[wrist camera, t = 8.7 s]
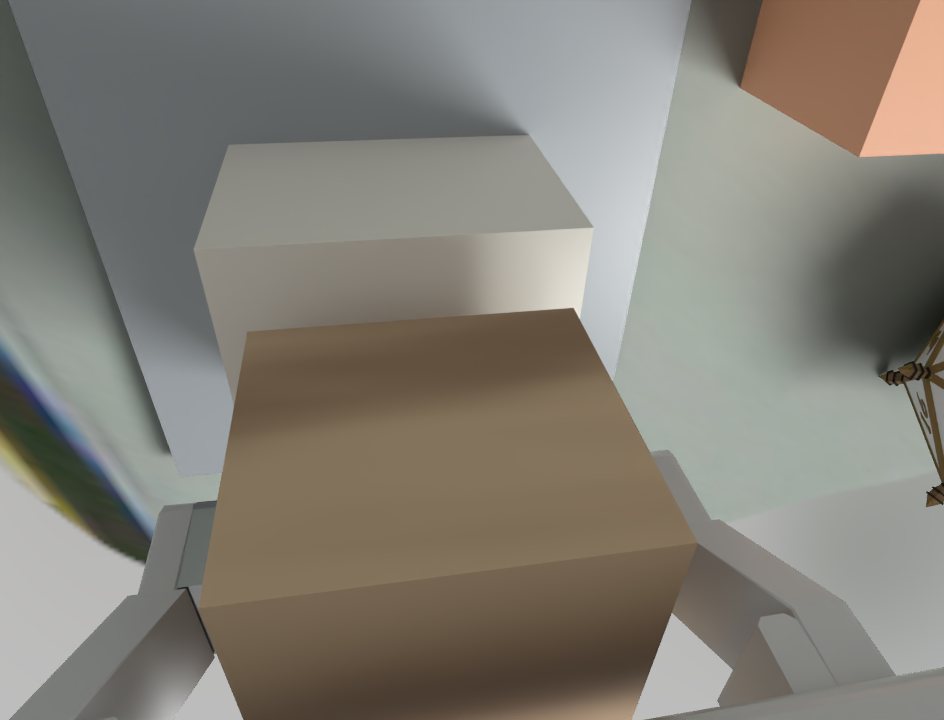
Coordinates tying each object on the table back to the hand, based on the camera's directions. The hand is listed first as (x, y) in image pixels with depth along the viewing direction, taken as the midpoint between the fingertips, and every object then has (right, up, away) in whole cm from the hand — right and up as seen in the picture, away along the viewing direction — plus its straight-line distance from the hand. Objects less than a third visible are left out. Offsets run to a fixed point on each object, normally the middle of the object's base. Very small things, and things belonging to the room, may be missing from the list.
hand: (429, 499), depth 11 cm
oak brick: (0, +1, +1) cm, 2 cm away
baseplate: (-2, +5, +7) cm, 9 cm away
